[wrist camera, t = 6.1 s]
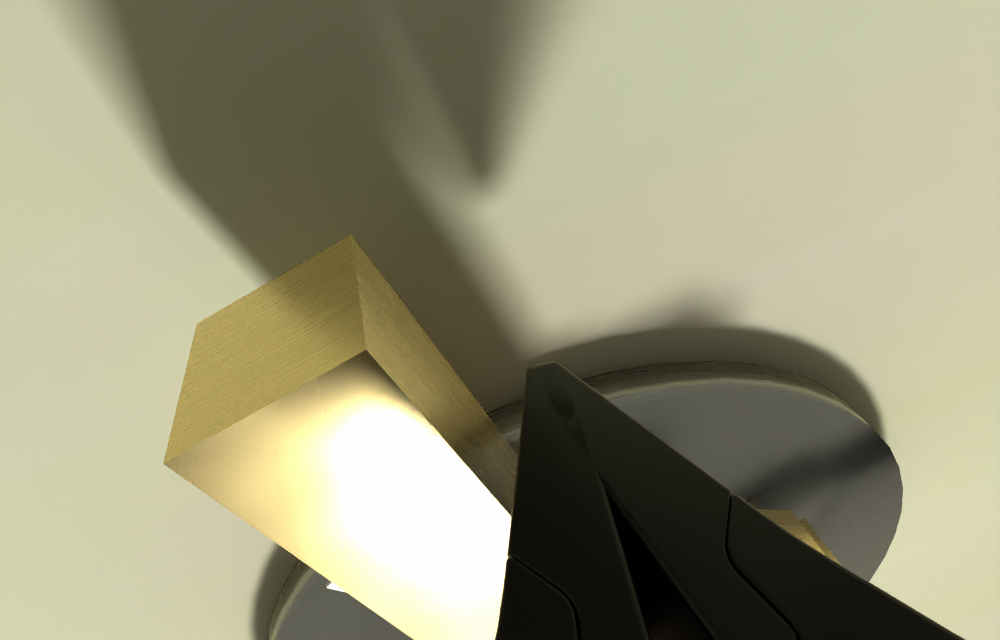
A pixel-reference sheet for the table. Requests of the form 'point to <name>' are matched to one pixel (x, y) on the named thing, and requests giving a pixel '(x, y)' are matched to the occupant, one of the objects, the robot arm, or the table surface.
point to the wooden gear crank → (357, 446)
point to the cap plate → (714, 448)
